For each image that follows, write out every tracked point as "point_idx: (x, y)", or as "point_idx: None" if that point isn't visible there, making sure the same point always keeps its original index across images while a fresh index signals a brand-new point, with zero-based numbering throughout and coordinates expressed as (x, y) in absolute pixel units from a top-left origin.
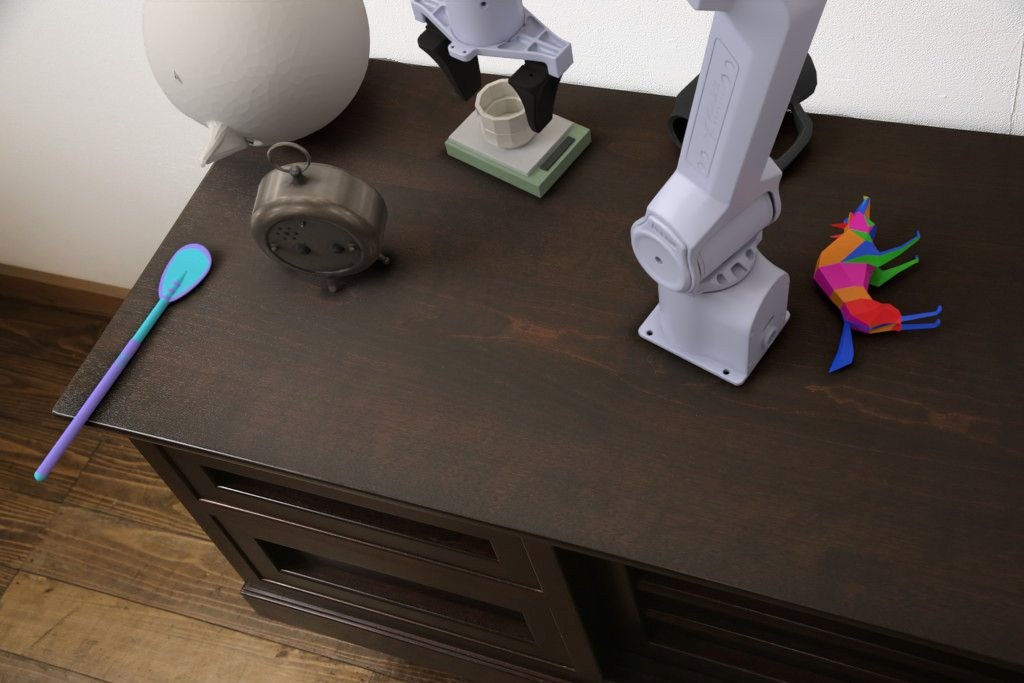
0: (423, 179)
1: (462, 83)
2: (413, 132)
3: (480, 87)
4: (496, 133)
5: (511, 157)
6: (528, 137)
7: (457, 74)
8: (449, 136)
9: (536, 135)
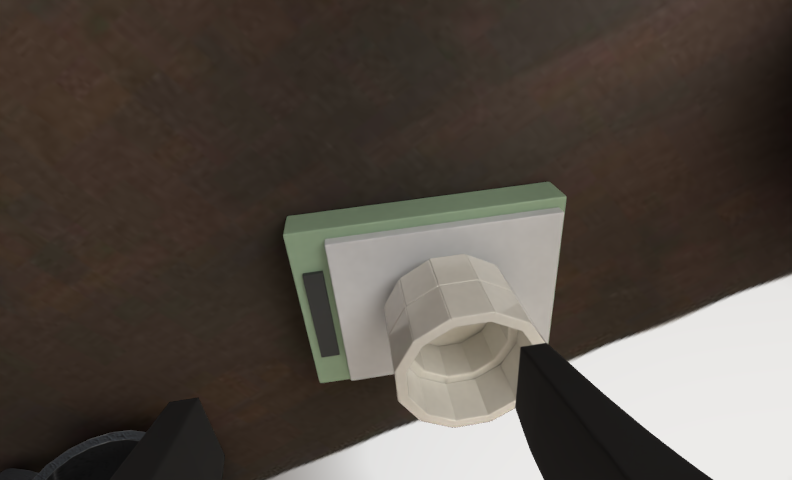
0: (558, 92)
1: (564, 425)
2: (655, 180)
3: (516, 407)
4: (437, 287)
5: (391, 255)
6: (385, 315)
7: (605, 475)
8: (563, 214)
9: None
